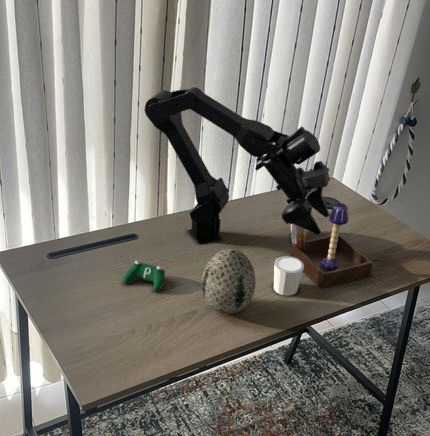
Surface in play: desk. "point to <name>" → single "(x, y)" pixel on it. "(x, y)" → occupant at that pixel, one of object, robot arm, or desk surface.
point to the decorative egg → (228, 281)
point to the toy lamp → (335, 234)
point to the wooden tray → (345, 256)
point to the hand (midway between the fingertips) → (323, 224)
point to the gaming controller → (145, 274)
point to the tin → (298, 236)
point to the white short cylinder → (287, 275)
